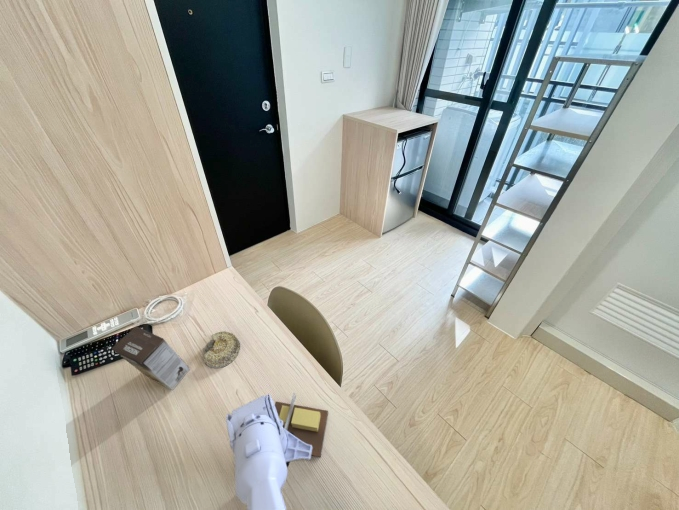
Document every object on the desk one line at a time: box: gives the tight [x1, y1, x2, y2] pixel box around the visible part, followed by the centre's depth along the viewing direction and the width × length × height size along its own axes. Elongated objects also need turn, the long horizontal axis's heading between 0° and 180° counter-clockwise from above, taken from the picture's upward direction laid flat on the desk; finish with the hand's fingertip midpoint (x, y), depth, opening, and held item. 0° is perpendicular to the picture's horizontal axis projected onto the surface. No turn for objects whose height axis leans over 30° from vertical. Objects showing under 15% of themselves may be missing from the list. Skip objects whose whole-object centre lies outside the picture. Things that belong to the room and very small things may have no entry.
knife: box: [284, 392, 297, 430], centre depth 57 cm, size 15×2×3 cm, turn 171°
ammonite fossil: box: [202, 330, 241, 369], centre depth 74 cm, size 10×10×5 cm
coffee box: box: [111, 326, 191, 391], centre depth 66 cm, size 9×6×16 cm
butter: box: [291, 408, 321, 432], centre depth 61 cm, size 3×6×3 cm, turn 81°
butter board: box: [274, 401, 329, 458], centre depth 62 cm, size 9×13×1 cm
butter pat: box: [279, 405, 290, 425], centre depth 62 cm, size 3×2×3 cm, turn 171°
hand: (279, 454), depth 55 cm, fingers closed on knife, 2 cm apart
